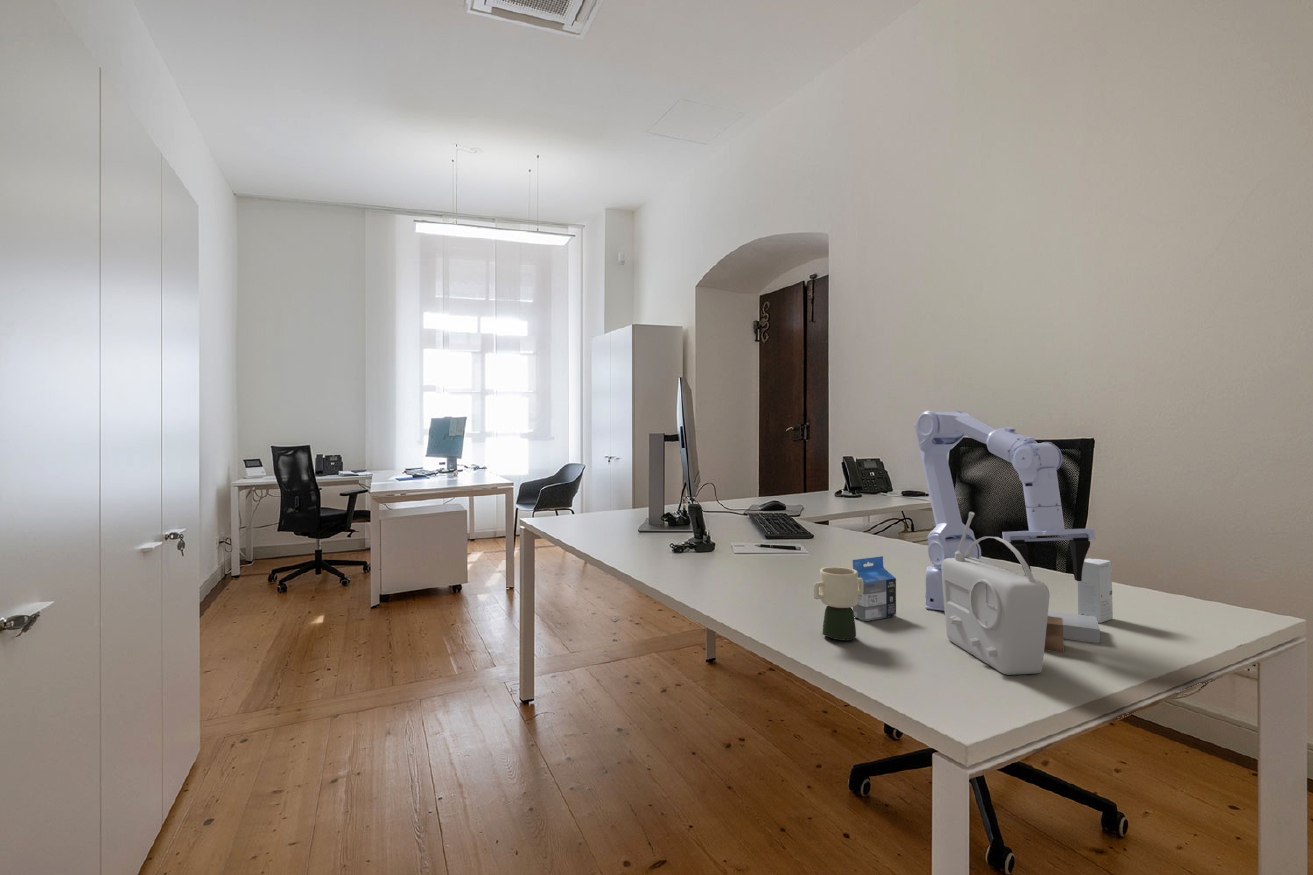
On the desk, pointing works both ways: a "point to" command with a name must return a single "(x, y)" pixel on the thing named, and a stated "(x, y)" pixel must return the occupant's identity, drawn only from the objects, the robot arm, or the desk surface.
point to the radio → (995, 610)
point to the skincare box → (1096, 590)
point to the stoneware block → (1079, 626)
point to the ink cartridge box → (875, 590)
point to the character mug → (839, 600)
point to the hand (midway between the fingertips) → (1053, 580)
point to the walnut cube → (1054, 634)
